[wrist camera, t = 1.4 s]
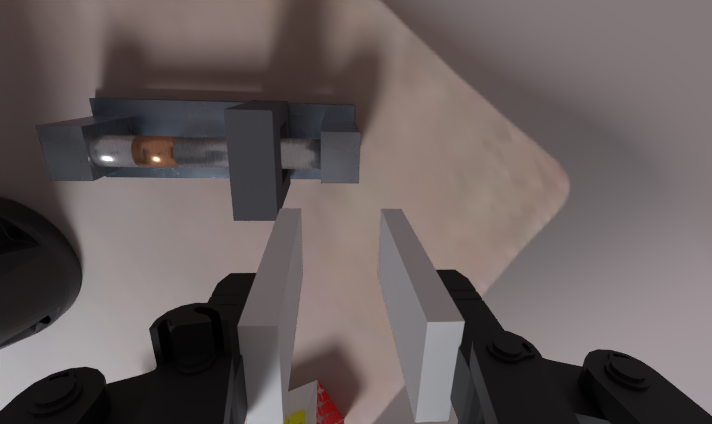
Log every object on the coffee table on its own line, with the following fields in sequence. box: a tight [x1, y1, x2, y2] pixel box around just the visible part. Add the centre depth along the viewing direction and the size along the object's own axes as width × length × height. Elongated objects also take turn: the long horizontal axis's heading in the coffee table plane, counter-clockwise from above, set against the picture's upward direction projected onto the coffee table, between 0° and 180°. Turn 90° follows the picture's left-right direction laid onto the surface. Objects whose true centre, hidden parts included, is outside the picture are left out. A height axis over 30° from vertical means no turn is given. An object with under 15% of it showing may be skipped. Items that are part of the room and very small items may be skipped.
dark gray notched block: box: [223, 100, 290, 221], centre depth 28 cm, size 3×8×10 cm, turn 178°
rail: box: [36, 98, 361, 183], centre depth 30 cm, size 23×7×7 cm, turn 88°
